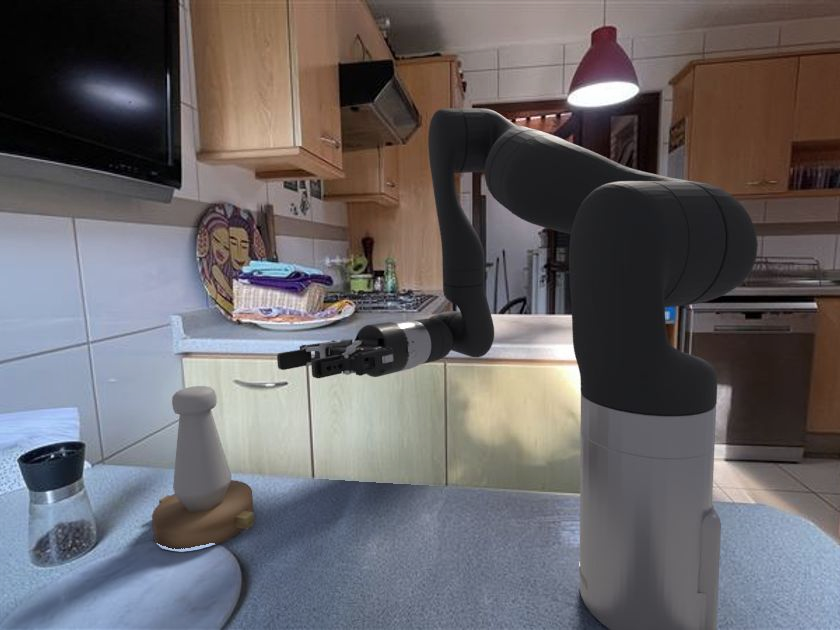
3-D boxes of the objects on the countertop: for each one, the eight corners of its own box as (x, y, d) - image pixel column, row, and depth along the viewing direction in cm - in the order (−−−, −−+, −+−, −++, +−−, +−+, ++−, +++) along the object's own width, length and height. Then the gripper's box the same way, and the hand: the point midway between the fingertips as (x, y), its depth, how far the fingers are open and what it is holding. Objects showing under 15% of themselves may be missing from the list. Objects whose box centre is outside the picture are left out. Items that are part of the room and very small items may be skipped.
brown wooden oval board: (281, 508, 51) (279, 488, 51) (214, 563, 42) (212, 539, 42) (200, 492, 56) (198, 474, 55) (123, 539, 46) (120, 517, 46)
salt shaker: (244, 495, 50) (234, 384, 48) (196, 522, 45) (183, 399, 43) (212, 484, 53) (202, 379, 51) (164, 508, 48) (151, 392, 46)
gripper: (363, 320, 70) (266, 332, 58) (426, 323, 59) (324, 339, 48) (365, 366, 70) (270, 387, 59) (429, 377, 60) (329, 405, 49)
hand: (295, 365), depth 53 cm, fingers open, 8 cm apart
